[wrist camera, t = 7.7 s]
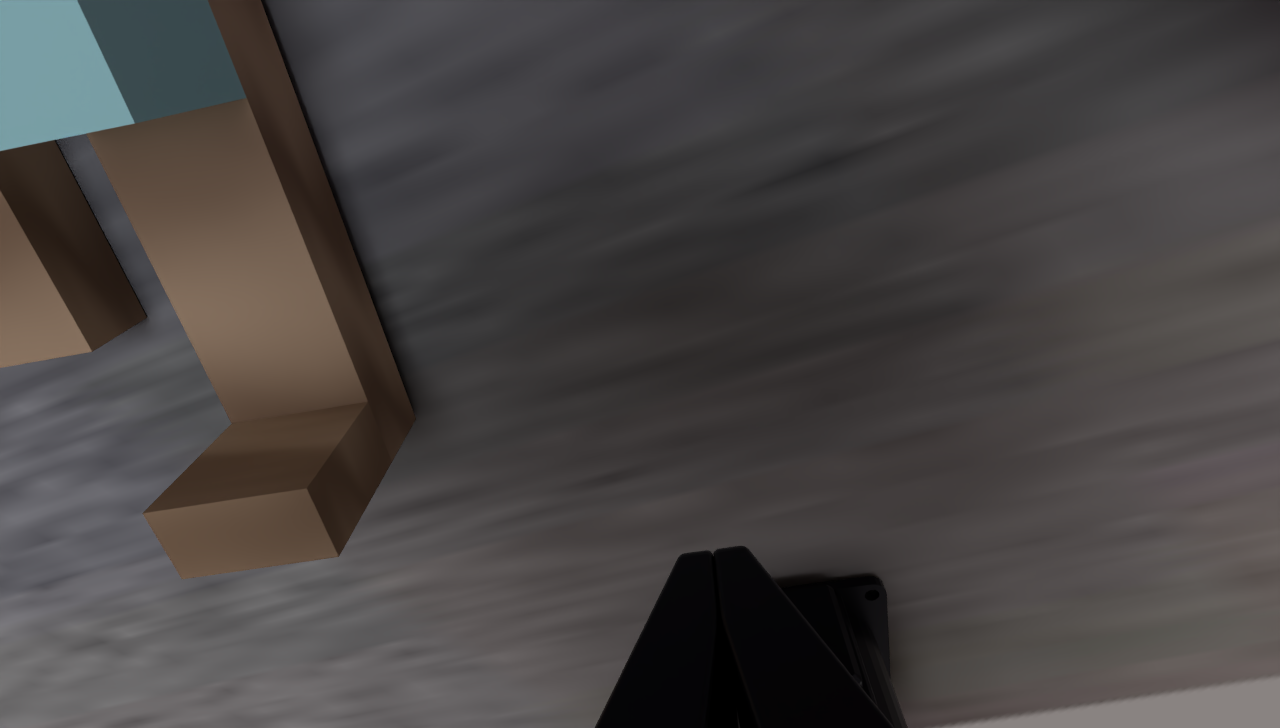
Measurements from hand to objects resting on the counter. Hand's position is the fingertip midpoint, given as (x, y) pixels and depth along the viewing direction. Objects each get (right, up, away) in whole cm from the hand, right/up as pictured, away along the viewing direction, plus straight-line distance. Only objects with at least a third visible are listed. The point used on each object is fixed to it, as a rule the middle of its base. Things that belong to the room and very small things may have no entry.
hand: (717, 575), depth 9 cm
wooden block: (-12, +8, +11) cm, 18 cm away
